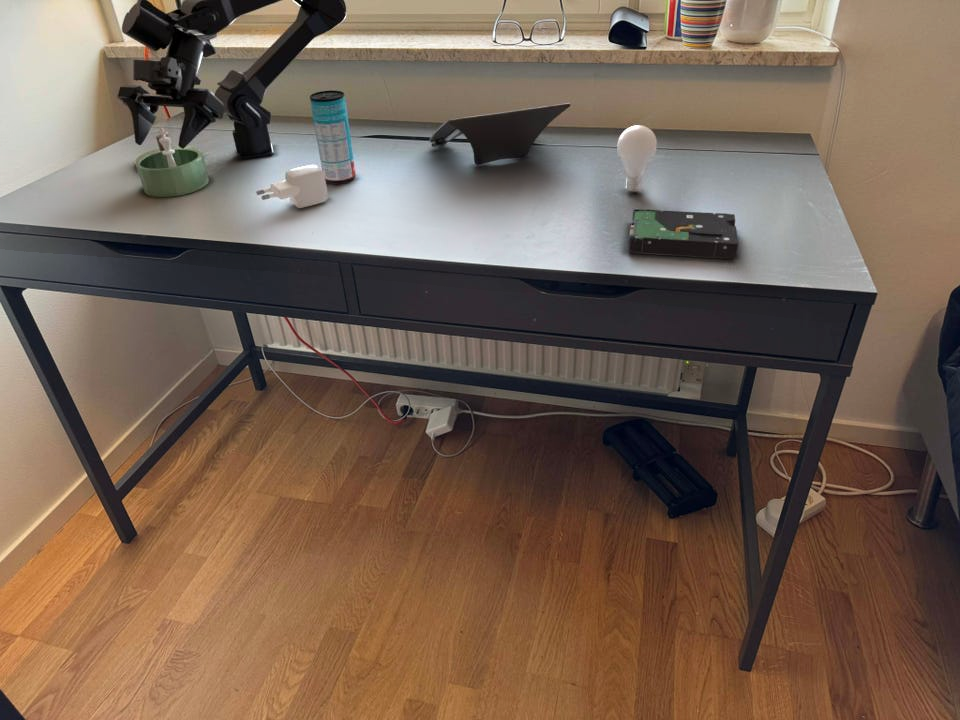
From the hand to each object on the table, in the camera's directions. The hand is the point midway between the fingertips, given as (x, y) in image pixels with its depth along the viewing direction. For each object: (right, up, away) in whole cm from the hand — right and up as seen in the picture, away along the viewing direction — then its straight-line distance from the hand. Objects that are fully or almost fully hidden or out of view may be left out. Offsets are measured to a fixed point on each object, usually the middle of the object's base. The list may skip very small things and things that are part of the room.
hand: (159, 145), depth 127 cm
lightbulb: (+83, -10, -6) cm, 83 cm away
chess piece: (+1, -5, +5) cm, 8 cm away
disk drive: (+86, -21, -22) cm, 91 cm away
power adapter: (+25, -12, -5) cm, 29 cm away
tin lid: (-6, +2, +17) cm, 18 cm away
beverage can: (+31, -5, +5) cm, 32 cm away
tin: (+1, -6, +6) cm, 8 cm away
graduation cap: (+59, +2, +13) cm, 61 cm away
